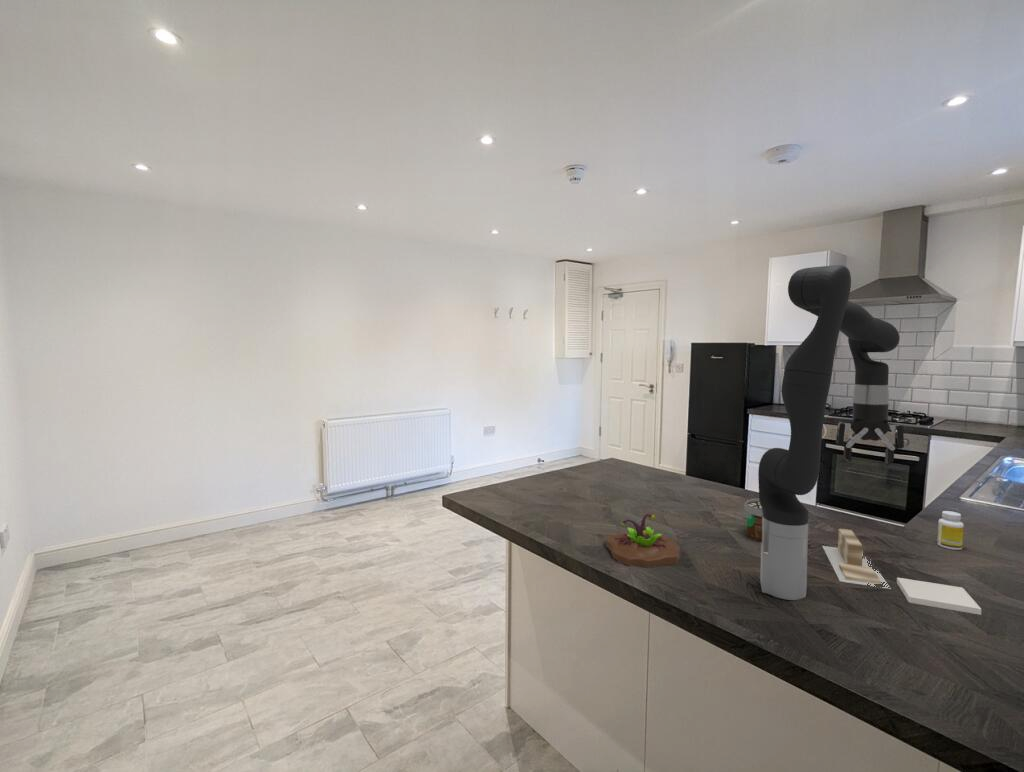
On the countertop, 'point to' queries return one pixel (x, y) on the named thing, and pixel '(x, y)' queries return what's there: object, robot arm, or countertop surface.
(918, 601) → the tile
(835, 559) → the mat
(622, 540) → the toy plant on soil
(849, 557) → the turner
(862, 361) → the robot arm
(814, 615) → the countertop surface
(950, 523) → the supplement bottle
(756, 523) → the food container
